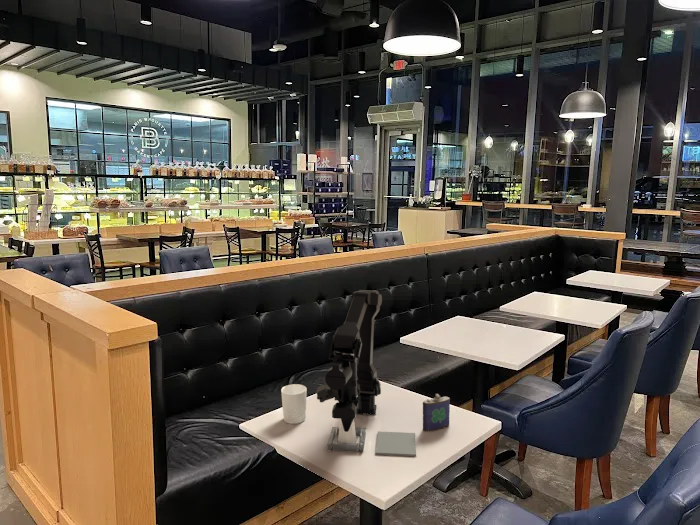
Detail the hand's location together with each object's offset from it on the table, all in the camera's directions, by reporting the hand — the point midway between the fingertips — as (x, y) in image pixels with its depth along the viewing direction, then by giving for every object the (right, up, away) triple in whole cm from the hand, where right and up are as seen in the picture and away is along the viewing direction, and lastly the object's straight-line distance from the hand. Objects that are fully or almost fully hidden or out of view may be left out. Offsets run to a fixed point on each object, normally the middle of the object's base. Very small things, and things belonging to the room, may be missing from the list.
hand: (347, 427), depth 150 cm
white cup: (-17, -2, +15) cm, 23 cm away
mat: (+14, -5, -1) cm, 15 cm away
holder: (0, -4, +1) cm, 4 cm away
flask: (+27, -3, +9) cm, 29 cm away
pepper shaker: (0, -5, +1) cm, 5 cm away
